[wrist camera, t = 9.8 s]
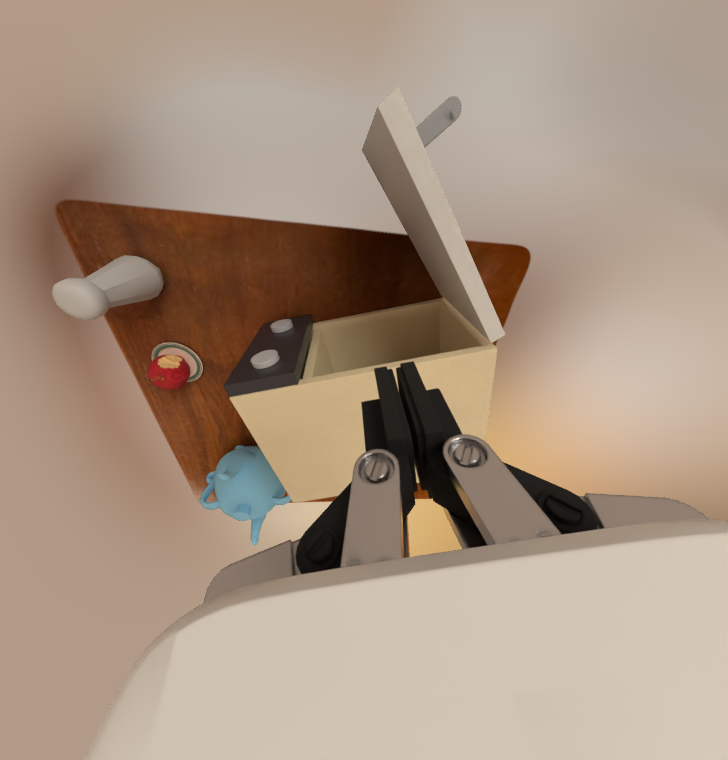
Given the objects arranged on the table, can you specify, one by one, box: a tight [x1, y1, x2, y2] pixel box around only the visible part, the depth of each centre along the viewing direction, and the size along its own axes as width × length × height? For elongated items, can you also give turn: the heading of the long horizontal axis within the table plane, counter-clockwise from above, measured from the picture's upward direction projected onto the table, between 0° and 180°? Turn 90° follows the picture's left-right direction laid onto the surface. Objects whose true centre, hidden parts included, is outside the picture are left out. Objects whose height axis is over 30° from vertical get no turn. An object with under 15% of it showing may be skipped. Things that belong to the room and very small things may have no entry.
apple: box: [147, 343, 203, 390], centre depth 44 cm, size 8×8×6 cm
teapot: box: [200, 446, 291, 545], centre depth 56 cm, size 16×20×14 cm
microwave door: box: [362, 87, 505, 343], centre depth 29 cm, size 6×22×18 cm, turn 36°
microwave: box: [224, 298, 497, 503], centre depth 42 cm, size 24×30×18 cm
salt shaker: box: [52, 256, 164, 320], centre depth 33 cm, size 6×6×13 cm
